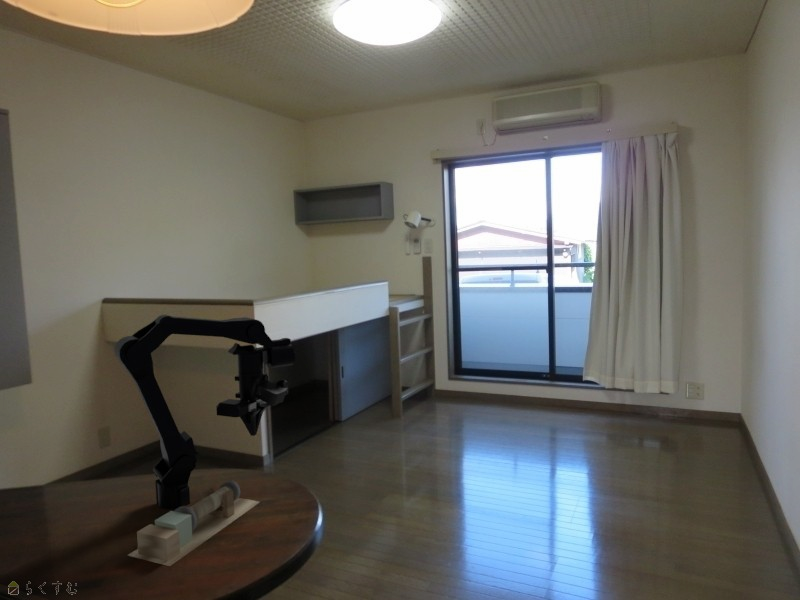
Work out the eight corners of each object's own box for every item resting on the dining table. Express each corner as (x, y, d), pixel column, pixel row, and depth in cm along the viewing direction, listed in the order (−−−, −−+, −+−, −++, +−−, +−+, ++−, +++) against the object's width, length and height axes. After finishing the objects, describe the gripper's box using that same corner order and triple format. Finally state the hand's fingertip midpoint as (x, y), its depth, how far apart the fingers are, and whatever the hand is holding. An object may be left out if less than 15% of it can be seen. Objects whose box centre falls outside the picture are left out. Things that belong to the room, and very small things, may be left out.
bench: (127, 559, 98) (125, 528, 98) (223, 498, 122) (222, 473, 122) (170, 570, 95) (168, 538, 94) (260, 505, 119) (259, 479, 118)
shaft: (172, 532, 105) (170, 506, 104) (223, 499, 118) (221, 476, 118) (193, 537, 103) (191, 510, 102) (242, 503, 117) (241, 480, 116)
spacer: (156, 545, 101) (154, 520, 101) (172, 535, 105) (171, 510, 104) (176, 551, 99) (175, 525, 99) (192, 540, 103) (191, 515, 103)
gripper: (254, 382, 116) (257, 453, 117) (301, 365, 133) (303, 426, 134) (213, 378, 120) (216, 446, 121) (263, 362, 137) (266, 422, 139)
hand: (253, 435), depth 129 cm, fingers closed
